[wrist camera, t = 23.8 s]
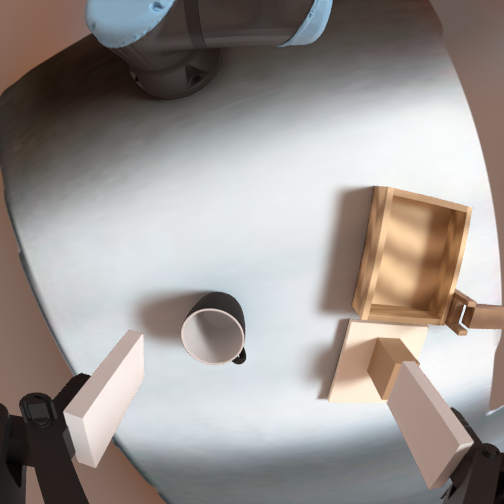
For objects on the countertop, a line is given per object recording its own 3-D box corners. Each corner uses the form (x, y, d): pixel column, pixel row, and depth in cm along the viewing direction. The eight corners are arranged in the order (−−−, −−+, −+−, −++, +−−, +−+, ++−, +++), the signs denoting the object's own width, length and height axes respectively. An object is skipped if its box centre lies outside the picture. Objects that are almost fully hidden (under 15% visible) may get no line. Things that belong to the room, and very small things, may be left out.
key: (467, 302, 44) (475, 308, 42) (508, 306, 44) (515, 311, 42) (461, 322, 45) (468, 328, 43) (502, 323, 45) (509, 329, 43)
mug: (183, 301, 53) (167, 327, 43) (227, 274, 52) (220, 296, 42) (223, 355, 55) (217, 388, 45) (267, 332, 54) (268, 363, 44)
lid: (348, 316, 54) (367, 347, 43) (423, 322, 54) (451, 349, 43) (326, 395, 57) (337, 433, 46) (397, 395, 57) (416, 429, 46)
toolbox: (374, 185, 48) (400, 188, 38) (462, 206, 48) (497, 213, 38) (351, 305, 53) (369, 331, 43) (437, 312, 53) (465, 336, 43)
